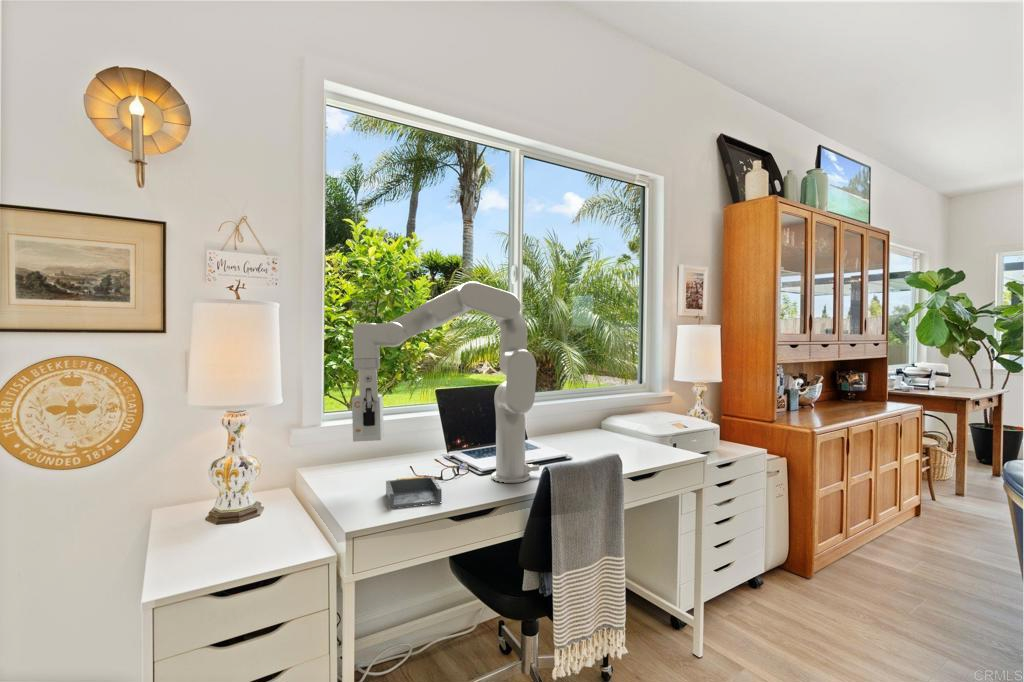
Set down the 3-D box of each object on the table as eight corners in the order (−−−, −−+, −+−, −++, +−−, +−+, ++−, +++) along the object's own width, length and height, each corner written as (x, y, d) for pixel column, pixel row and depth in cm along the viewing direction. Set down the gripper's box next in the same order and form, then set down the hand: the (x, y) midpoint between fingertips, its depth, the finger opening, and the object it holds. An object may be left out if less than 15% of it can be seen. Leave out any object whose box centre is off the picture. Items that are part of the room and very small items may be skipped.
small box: (384, 436, 156) (383, 394, 156) (380, 440, 149) (379, 396, 149) (357, 437, 155) (355, 394, 155) (352, 442, 149) (351, 397, 148)
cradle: (433, 489, 154) (433, 475, 154) (441, 503, 141) (441, 487, 141) (386, 494, 149) (385, 479, 149) (390, 508, 137) (390, 493, 137)
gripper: (382, 365, 145) (383, 427, 145) (378, 362, 161) (379, 417, 162) (354, 366, 142) (356, 429, 143) (353, 363, 159) (354, 419, 159)
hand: (368, 423), depth 152 cm, fingers closed on small box, 7 cm apart
